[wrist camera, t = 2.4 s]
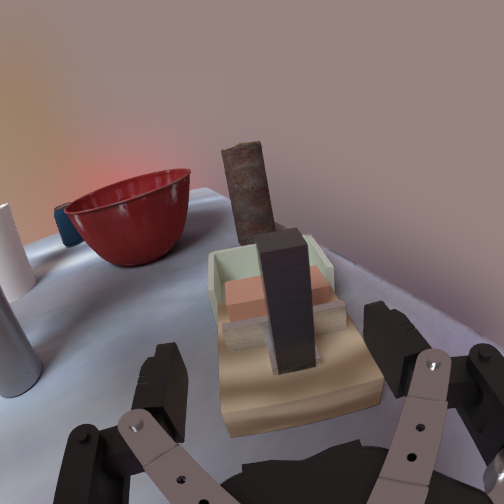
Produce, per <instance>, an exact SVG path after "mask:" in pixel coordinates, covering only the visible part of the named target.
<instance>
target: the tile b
mask: <svg viewBox="0 0 504 504" xmlns="http://www.w3.org/2000/svg"><path fill="white" fill-rule="evenodd" d="M310 276H311V289H312V303H313V306H316V305H320V304H325V303H329V302H330V296H329V285H328V283H327V281H326V280H325V278H324V276H323V275H322V273H321V272H320V270H319V268H318V267H317V265H313V266H310Z"/></svg>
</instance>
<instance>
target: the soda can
mask: <svg viewBox="0 0 504 504" xmlns="http://www.w3.org/2000/svg"><path fill="white" fill-rule="evenodd" d="M69 204H71V202H69V203H65V204H63V205H60V206H58V207H56V208H55V209H54V210H55V211H54V217H55V220H56V224H57V227H58V230H59V233H60V236H61V239H62V241H63V244H64V245H65V246H66V247H73V246H76V245H78V244H80V243H81V242H82V241H83V238H82V237H81V235H80V234H79V233H78V231H77V230H76V228H75V227H74V225H73V224H72V222H71V220H70V219H69V217H68V215H67V214H66V213H65V212H64V209H65V208H66V207H67V206H68V205H69Z"/></svg>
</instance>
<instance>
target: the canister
mask: <svg viewBox="0 0 504 504" xmlns="http://www.w3.org/2000/svg"><path fill="white" fill-rule="evenodd" d="M35 284H36V278H35V276H34V273H33V271H32V268H31V266H30V263H29V261H28V258H27V256H26V253H25V251H24V248H23V245H22V242H21V240H20V237H19V234H18V231H17V228H16V225H15V222H14V219H13V216H12V213H11V210H10V206H9V203H6V204H3V205H1V206H0V286H1V288H2V290H3V292H4V294H5V296H6V298H7V301H8V303H11V302H13V301H15V300H17V299H19V298H21V297H22V296H24V295H25V294H26V293H28V292H29V291H30V290H31V289H32V288H33V287H34V285H35Z"/></svg>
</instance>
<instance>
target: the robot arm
mask: <svg viewBox="0 0 504 504" xmlns="http://www.w3.org/2000/svg"><path fill="white" fill-rule="evenodd" d="M363 336H364V341H365V344H366V347H367V348H368V350H369V352H370V354H371V355H372V357H373V359H374V360H375V362H376V364H377V366H378V367H379V369H380V371H381V373H382V375H383V376H384V378H385V380H386V382H387V383H388V385H389V387H390V389H391V391H392V392H393V394H394V396H395V398H396V399H398V398H400V397H403V396H405V397H406V400H405V404H404V407H403V410H402V414H401V417H400V420H399V423H398V426H397V429H396V432H395V435H394V438H393V441H392V444H391V446H390V449H386V448H381V447H375V446H362V445H361V443H360V440H359V439H358V440H355V441H351V442H348V443H344V444H341V445H337V446H333V447H330V448H328V449H326V450H324V451H322V452H320V453H318V454H316V455H314V456H312V457H310V458H307V459H305V460H300V461H288V460H269V461H263V462H256V463H249V464H242V473H239V474H237V475H234V476H232V477H231V478H229V479H227V480H226V481H224V482H223V483H222V484H220V485H219V484H218V483H217V482H216V481H215V480H214V479H213V478H212V477H211V476H210V475H209V474H208V473H207V472H206V471H205V470H204V469H203V468H202V467H201V466H200V465H199V464H198V463H197V462H196V461H195V460H194V459H193V458H192V457H191V456H190V455H189V454H188V453H187V452H186V451H185V450H184V449H183V448H182V447H181V446H180V445H179V444H176V443H183V442H184V437H185V421H186V406H187V393H188V374H187V370H186V367H185V364H184V362H183V359H182V357H181V354H180V352H179V349H178V347H177V345H176V343H175V342H172V343H165V344H158V345H157V347H156V352H155V356H154V357H149V358H147V360H146V361H145V362H144V364H143V365H142V366H141V370H140V374H139V378H138V382H137V383H138V385H137V386H136V391H135V395H134V399H133V403H132V408H131V411H129V412H127V413H125V414H124V415H123V416H122V417H121V418H120V420H119V422H118V425H117V426H114V427H111V428H107V429H104V430H100V431H99V430H98V429H97V428H96V427H95V426H94V425H91V424H82V425H80V426H78V427H76V428H75V429H73V430H72V432H71V433H70V435H69V437H68V441H67V445H66V449H65V453H64V456H63V460H62V465H61V469H60V473H59V477H58V482H57V487H56V491H55V496H54V501H53V504H129V489H130V476H131V475H135V474H138V473H141V472H145V471H146V473H147V474H148V475H149V477H150V478H151V479H152V481H153V482H154V483H155V484H156V486H157V487H158V488H159V489H160V491H161V492H162V493H163V494H164V496H165V497H166V498H167V499H168V501H169V502H170V503H171V504H504V357H503V356H502V355H501V353H500V352H499V351H498V350H497V349H496V348H495V347H494V346H492V345H490V344H485V343H481V344H476V345H474V346H473V347H472V348H471V349H470V352H469V355H467V356H458V357H450V356H449V355H448V354H447V353H446V352H444V351H442V350H440V349H432V348H431V346H430V345H429V344H428V343H427V341H426V340H425V339H424V338H423V336H422V335H421V334H420V333H419V331H418V330H417V329H415V326H414V325H413V324H412V323H410V320H409V319H408V318H407V317H406V315H405V314H403V313H401V312H400V311H398V310H396V309H393V310H389V308H388V307H387V306H386V305H385V303H384V302H383V301H378V302H374V303H370V304H366V305H365V306H364V327H363ZM41 370H42V363H41V361H40V359H39V357H38V356H37V354H36V353H35V351H34V349H33V347H32V346H31V344H30V342H29V340H28V339H27V337H26V335H25V333H24V331H23V330H22V328H21V326H20V324H19V322H18V320H17V318H16V317H15V315H14V313H13V311H12V309H11V307H10V305H9V303H8V301H7V298H6V296H5V294H4V292H3V290H2V288H1V286H0V396H2V397H6V398H9V397H15V396H18V395H20V394H22V393H24V392H25V391H27V390H28V389H29V388H30V387H31V386H32V385H33V384H34V383H35V382H36V381H37V379H38V378H39V376H40V374H41ZM450 408H456V410H457V412H458V413H459V415H460V417H461V419H462V420H463V422H464V424H465V426H466V428H467V429H468V431H469V433H470V435H471V437H472V439H473V440H474V442H475V444H476V446H477V448H478V450H479V452H480V454H481V456H482V458H483V460H484V462H485V464H486V465H487V468H486V469H485V472H484V475H483V482H484V485H485V486H484V487H485V492H483V491H482V490H480V489H477V488H475V487H472V486H470V485H467V484H465V483H462V482H460V481H457V480H455V479H453V478H450V477H448V476H446V475H443V474H441V473H439V472H436V471H434V470H433V468H434V465H435V461H436V457H437V453H438V449H439V445H440V440H441V436H442V431H443V427H444V422H445V416H446V411H447V409H450Z"/></svg>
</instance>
